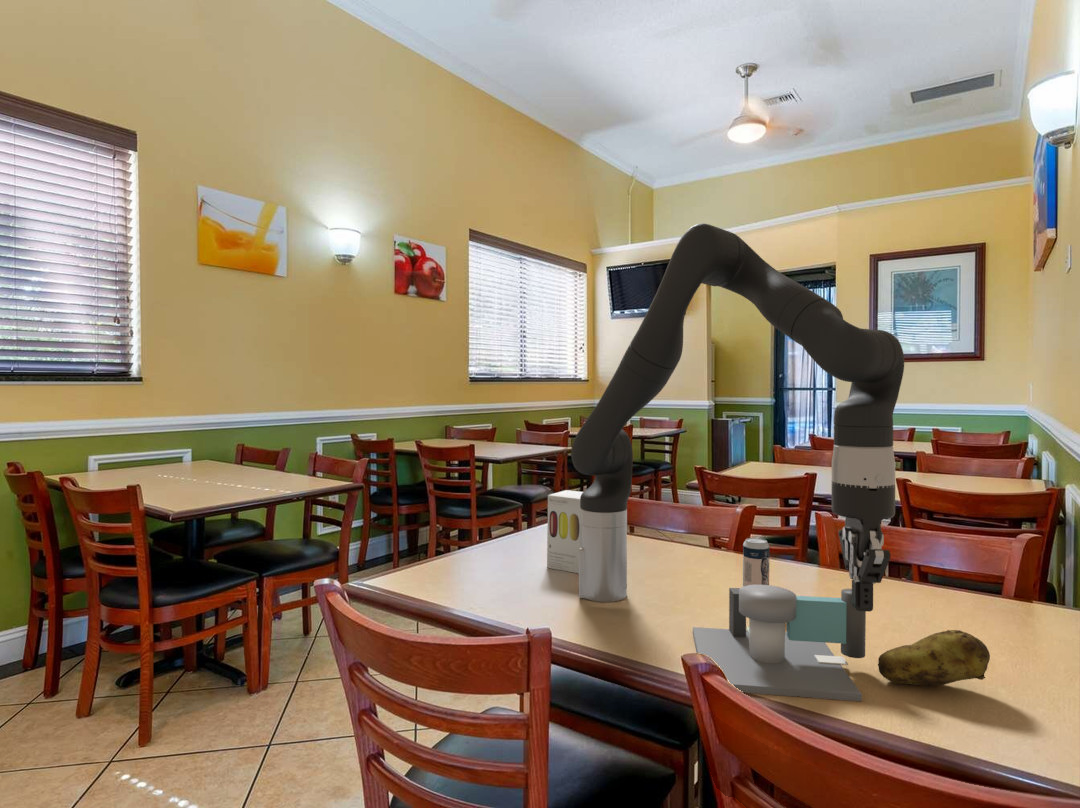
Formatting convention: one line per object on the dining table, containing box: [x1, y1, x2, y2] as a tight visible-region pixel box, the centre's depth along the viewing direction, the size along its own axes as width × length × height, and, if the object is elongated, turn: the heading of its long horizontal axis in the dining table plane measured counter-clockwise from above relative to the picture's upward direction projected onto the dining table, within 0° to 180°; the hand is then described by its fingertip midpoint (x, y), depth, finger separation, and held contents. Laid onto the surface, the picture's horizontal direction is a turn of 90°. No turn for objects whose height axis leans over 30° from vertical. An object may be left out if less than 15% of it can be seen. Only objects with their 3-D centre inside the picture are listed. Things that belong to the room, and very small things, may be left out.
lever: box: [739, 584, 867, 659], centre depth 92 cm, size 18×8×9 cm, turn 81°
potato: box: [877, 629, 991, 687], centre depth 86 cm, size 8×13×8 cm, turn 58°
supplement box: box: [546, 489, 584, 575], centre depth 144 cm, size 10×9×17 cm
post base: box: [692, 587, 862, 702], centre depth 94 cm, size 21×21×8 cm
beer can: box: [742, 537, 770, 587], centre depth 119 cm, size 5×5×12 cm
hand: (862, 609), depth 83 cm, fingers closed
